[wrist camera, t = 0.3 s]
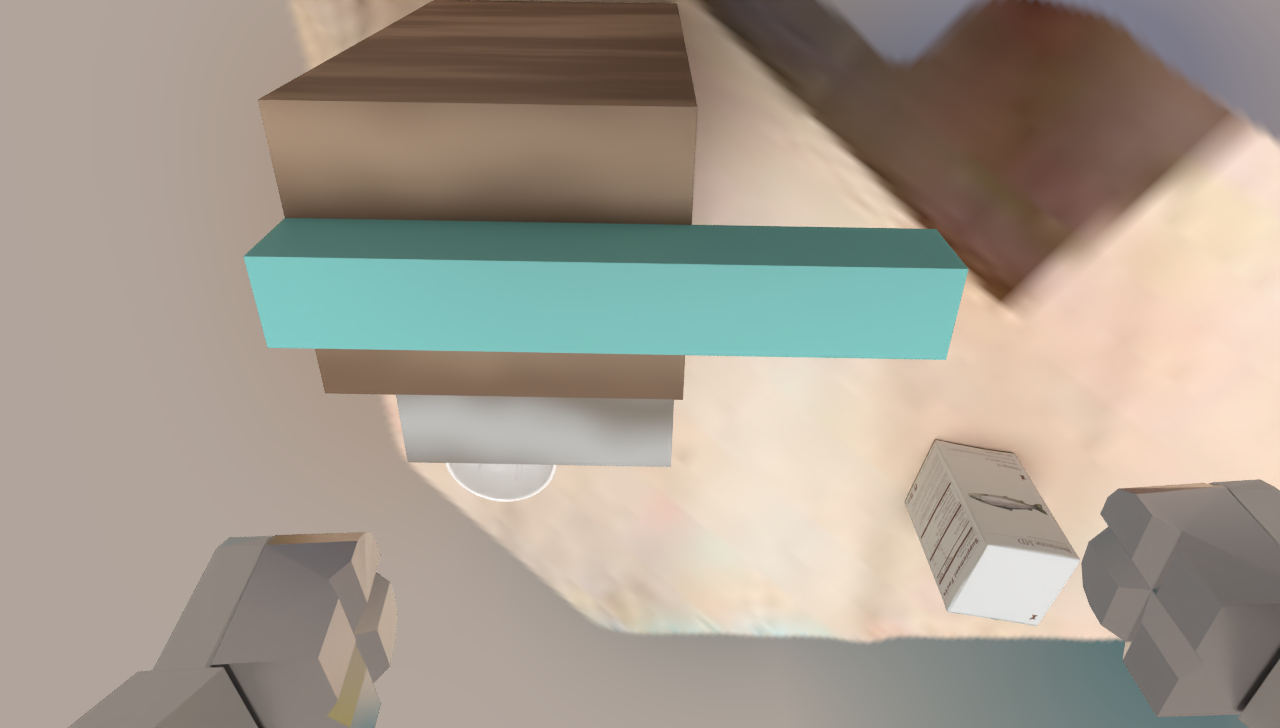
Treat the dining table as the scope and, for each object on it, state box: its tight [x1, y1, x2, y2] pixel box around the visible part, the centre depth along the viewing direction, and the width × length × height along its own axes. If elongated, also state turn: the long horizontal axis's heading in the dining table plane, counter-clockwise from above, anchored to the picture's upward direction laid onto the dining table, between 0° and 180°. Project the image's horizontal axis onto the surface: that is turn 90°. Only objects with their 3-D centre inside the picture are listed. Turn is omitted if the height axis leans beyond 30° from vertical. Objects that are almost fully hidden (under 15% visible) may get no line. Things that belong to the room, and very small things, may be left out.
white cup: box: [445, 463, 557, 502], centre depth 60 cm, size 8×8×10 cm
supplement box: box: [905, 440, 1080, 626], centre depth 63 cm, size 7×7×13 cm
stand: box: [258, 0, 697, 467], centre depth 44 cm, size 22×15×26 cm
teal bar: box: [244, 218, 968, 360], centre depth 29 cm, size 4×24×4 cm, turn 90°
